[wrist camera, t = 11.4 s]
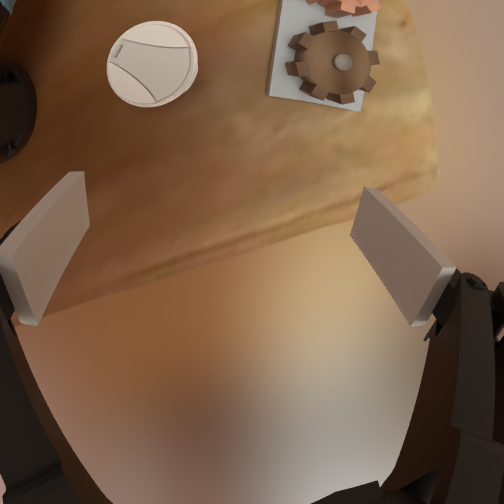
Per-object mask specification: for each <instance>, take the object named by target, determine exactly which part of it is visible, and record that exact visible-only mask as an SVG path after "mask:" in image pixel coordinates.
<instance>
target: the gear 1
mask: <svg viewBox="0 0 504 504" xmlns="http://www.w3.org/2000/svg"><path fill="white" fill-rule="evenodd" d="M305 1H306V2H307V3H308V4H309V5H311V4H313V3H315V2H317V3H318V4H319V5H320V6H322V7H326V9H325V15H326V16H330V17H334V18H340V17H344V16H348V15H352V16H353V17H356V16H360V15H365V14H369V13H373V12H375V11H377V10H379V9H381V6H380V5H379V3H378V2H377V0H305Z"/></svg>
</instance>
